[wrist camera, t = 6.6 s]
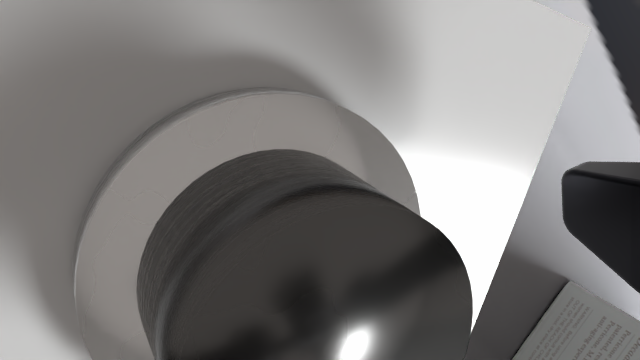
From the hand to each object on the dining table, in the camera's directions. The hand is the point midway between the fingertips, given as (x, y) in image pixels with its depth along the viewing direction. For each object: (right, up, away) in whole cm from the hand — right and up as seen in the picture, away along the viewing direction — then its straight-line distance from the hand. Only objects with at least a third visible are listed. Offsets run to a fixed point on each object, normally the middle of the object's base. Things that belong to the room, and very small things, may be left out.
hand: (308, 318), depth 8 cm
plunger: (-3, +2, +6) cm, 7 cm away
